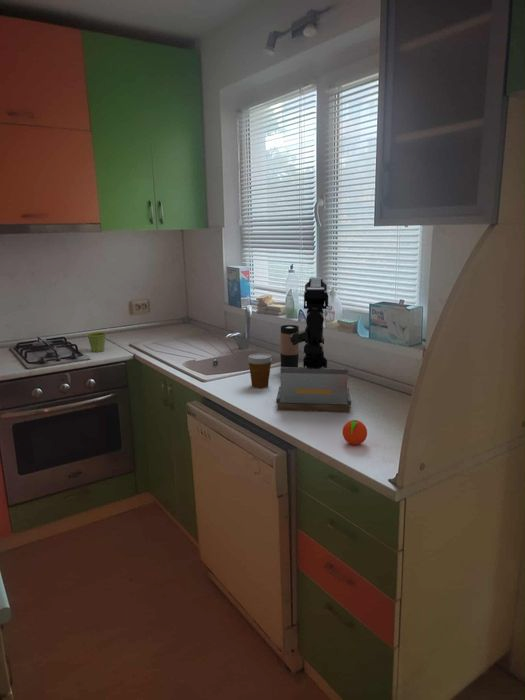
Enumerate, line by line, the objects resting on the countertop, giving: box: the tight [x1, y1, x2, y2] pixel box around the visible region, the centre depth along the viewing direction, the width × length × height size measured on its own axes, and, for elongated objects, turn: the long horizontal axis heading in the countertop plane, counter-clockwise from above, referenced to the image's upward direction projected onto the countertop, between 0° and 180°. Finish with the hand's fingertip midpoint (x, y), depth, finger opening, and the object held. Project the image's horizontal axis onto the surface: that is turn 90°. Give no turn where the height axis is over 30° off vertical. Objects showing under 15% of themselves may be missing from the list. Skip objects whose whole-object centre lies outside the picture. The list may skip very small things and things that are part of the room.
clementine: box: [341, 419, 368, 446], centre depth 145 cm, size 8×7×7 cm
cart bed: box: [275, 386, 352, 413], centre depth 179 cm, size 14×25×4 cm, turn 84°
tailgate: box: [279, 366, 349, 404], centre depth 172 cm, size 2×22×12 cm, turn 84°
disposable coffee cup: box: [247, 353, 273, 389], centre depth 200 cm, size 10×10×12 cm
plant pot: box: [86, 331, 107, 353], centre depth 260 cm, size 9×9×9 cm
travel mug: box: [279, 324, 300, 368], centre depth 217 cm, size 8×8×20 cm
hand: (314, 368), depth 182 cm, fingers closed
